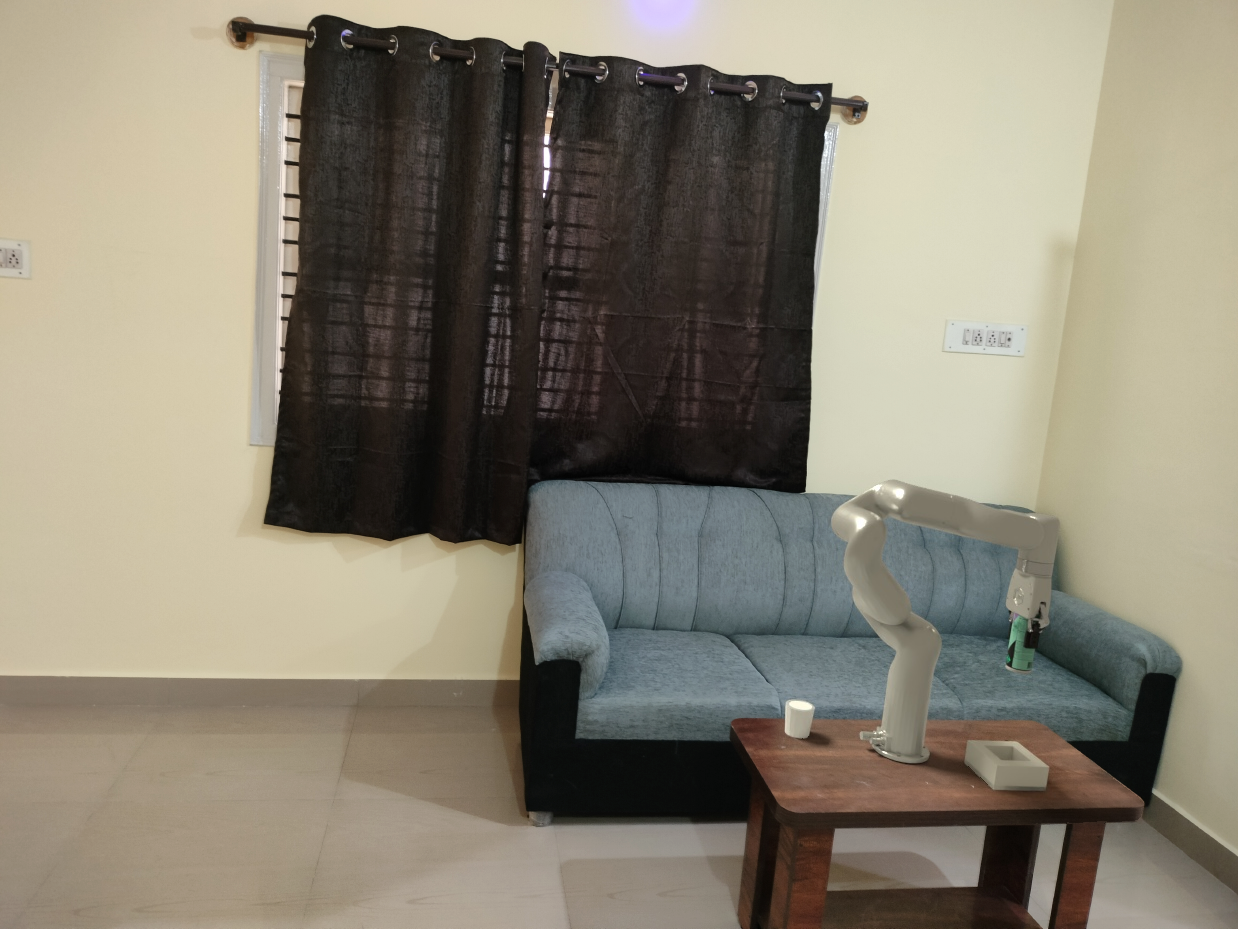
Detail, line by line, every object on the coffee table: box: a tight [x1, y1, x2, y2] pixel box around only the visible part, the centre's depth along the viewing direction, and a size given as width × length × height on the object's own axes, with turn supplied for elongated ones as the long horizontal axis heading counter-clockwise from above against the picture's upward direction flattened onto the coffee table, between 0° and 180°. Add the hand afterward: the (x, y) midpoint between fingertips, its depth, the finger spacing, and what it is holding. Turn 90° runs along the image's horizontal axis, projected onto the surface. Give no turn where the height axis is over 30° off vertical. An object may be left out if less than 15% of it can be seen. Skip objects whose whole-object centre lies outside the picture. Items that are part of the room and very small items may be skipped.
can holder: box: [963, 739, 1050, 792], centre depth 189 cm, size 12×12×6 cm
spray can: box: [1005, 613, 1038, 675], centre depth 198 cm, size 6×6×20 cm
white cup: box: [784, 699, 816, 739], centre depth 202 cm, size 7×7×7 cm
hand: (1022, 642), depth 198 cm, fingers closed on spray can, 5 cm apart
